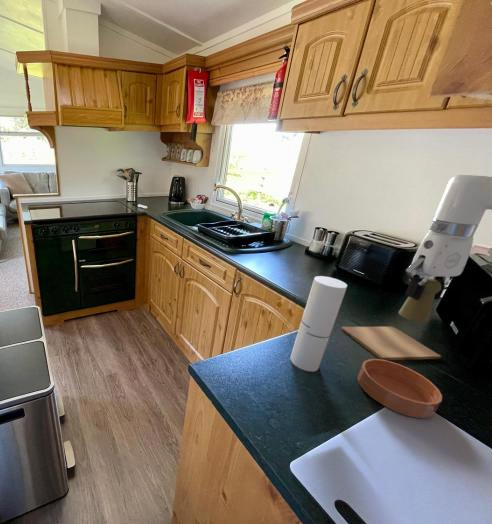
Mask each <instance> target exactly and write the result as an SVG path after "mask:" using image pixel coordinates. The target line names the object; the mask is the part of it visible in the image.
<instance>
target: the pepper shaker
mask: <svg viewBox="0 0 492 524" xmlns="http://www.w3.org/2000/svg"><path fill="white" fill-rule="evenodd" d="M420 278H422V276H420ZM423 285H424V286H425V288H424V290H423V292H422V295H421V297H420V299H419V300H415V299H413V298H411V297H409V296H407V298H406V300H405V301H404V303H403V305H402V306H401V308H400V309H399V310H398V315H399V316H401V317H402V318H404V319H407V320H408V321H412V322H414V323H415V322H416V323H419V324H427V323H429V320H430V316H431V312H432V309H433V305H434V300H435V299H434V296H435V294H436V293H438V292H439V291H440V290H441V283H440V282H438V281H436V280H434V279H433V278H431V277H429V278H428V279H427V280H426V282H425V283H424V284H423Z"/></svg>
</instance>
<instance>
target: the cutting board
mask: <svg viewBox="0 0 492 524" xmlns="http://www.w3.org/2000/svg"><path fill="white" fill-rule="evenodd" d="M341 329H343V330H344V331H345V332H346V333H348V334H349V335H350V336H351V338H352V339H353V340H354V339H355V340H354V341H356V342H357V343H358V344H360V345H361V346H363V347H364V348H365V349H366V350H368V351H369V352H370V353H371V354H373V355H374V356H375V357H377V359H381V360H387V361H407V360H409V361H411V360H441V358H442V355H441V354H439V353H436V352H435V351H434V350H432V349H430V348H428V347H427V346H425V345H424V344H423V343H420V342H419V341H417V339H414V338H413V337H411V336H409V335H407V334H405V333H404V332H402V331H401V330H400V329H398V328H396V327H395V326H389V325H388V326H341V328H340V330H341ZM343 330H342V331H343ZM344 331H343V332H344ZM345 332H344V333H345ZM346 333H345V334H346ZM348 334H347V335H348ZM349 335H348V336H349ZM350 336H349V337H350Z"/></svg>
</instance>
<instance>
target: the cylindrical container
mask: <svg viewBox="0 0 492 524" xmlns="http://www.w3.org/2000/svg"><path fill="white" fill-rule="evenodd" d="M311 284H312V285H311V287H310V292H309V295H308V297H307V301H306V304H305V307H304V311H303V314H302V317H301V320H300V324H299V327H298V330H297V333H296V337H295V340H294V343H293V347H292V351H291V354H290V357H289V361H290V362H291V363H292V364H293V365H294V366H295V367H297V368H298V369H300V370H303V371H306V372H317V371H318V370H319V368H320V366H321V362H322V360H323V357H324V354H325V351H326V348H327V345H328V342H329V340H330V337H331V333H332V331H333V328H334V325H335V322H336V320H337V318H338V314H339V311H340V308H341V305H342V303H343V299H344V297H345V294H346V291H347V288H348V284H347V283H346V282H344V281H342V280H340V279H338V278H334V277H331V276H326V275H325V276H324V275H317V276H314V277H313V280H312V283H311Z"/></svg>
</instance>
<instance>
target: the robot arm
mask: <svg viewBox="0 0 492 524" xmlns="http://www.w3.org/2000/svg"><path fill="white" fill-rule="evenodd" d="M487 210H491V211H492V176H488V175H474V174H458V175H455V176H453V177H452V178H450V179H449V181H448V183H447V186H446V187H445V190H444V194H443V195H442V198H441V200H440V202H439V205H438V207H437V210H436V212H435V214H434V217H433V219H432V222H431V224H430V226H429V229H428V232H427V233H426V235H425V236H424V238H423V239H422V241H421V243H420V245H419V246H418V248H417V250H416V253H414V257H413V258H412V262H411V264H410V266H408V267H407V268H406V269H405V272H406V273H407V276H408V278H409V279H408V281H409V283H408V286H407V289H406V291H405V294H404V295H406V297H411V298H413V299H415V300H419V299H420V297H421V295H422V292H423V290H424V288H425V286H424V285H423V284H424V283H425V282H426V280H427V279H428V278H430V277H432V279H434V280H436V281H438V282H440V283H441V290H440V291H439V292H438V293H436V294H435V296H434V300H440V298H441V297H442V294H443V293H444V290H445V288H446V286H448V285H449V284H450V281H452V280H453V279H454V277H458V276H460V275H461V274H462V273H463V272H464V269H465V268H466V267H465V266H466V265H467V261H468V259H469V257H470V254H471V251H472V248H473V243H474V235H475V233H476V231H477V229H478V227H479V225H480V224H481V221H482V219H483V217H484V215H485V212H486V211H487ZM420 275H422V276H420ZM420 277H422V278H420Z"/></svg>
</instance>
